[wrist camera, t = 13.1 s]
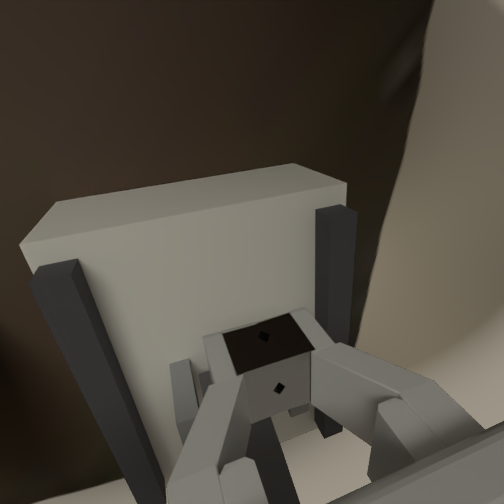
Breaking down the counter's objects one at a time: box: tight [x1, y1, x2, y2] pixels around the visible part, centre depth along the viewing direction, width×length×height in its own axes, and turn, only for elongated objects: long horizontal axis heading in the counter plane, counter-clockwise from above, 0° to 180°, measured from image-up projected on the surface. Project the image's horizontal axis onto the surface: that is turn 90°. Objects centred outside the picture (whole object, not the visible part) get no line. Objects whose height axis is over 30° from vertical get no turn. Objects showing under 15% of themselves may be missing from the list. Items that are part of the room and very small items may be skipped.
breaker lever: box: [198, 371, 300, 504], centre depth 13 cm, size 2×10×10 cm, turn 96°
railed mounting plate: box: [28, 204, 358, 504], centre depth 17 cm, size 16×13×1 cm
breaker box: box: [19, 163, 347, 488], centre depth 18 cm, size 18×14×10 cm
